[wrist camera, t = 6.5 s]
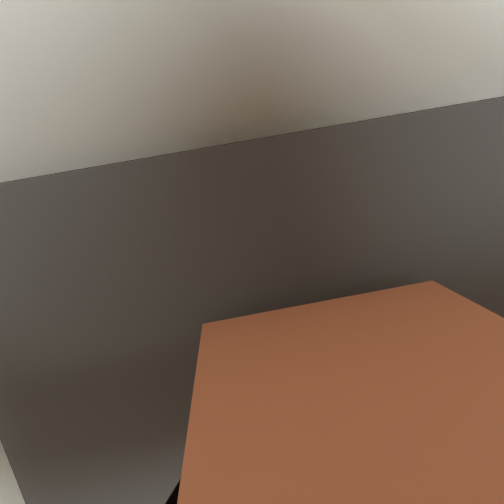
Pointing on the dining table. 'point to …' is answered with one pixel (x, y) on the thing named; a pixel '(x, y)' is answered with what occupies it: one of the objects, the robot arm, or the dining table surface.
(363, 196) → the mat
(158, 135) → the dining table surface
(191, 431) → the block
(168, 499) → the robot arm
